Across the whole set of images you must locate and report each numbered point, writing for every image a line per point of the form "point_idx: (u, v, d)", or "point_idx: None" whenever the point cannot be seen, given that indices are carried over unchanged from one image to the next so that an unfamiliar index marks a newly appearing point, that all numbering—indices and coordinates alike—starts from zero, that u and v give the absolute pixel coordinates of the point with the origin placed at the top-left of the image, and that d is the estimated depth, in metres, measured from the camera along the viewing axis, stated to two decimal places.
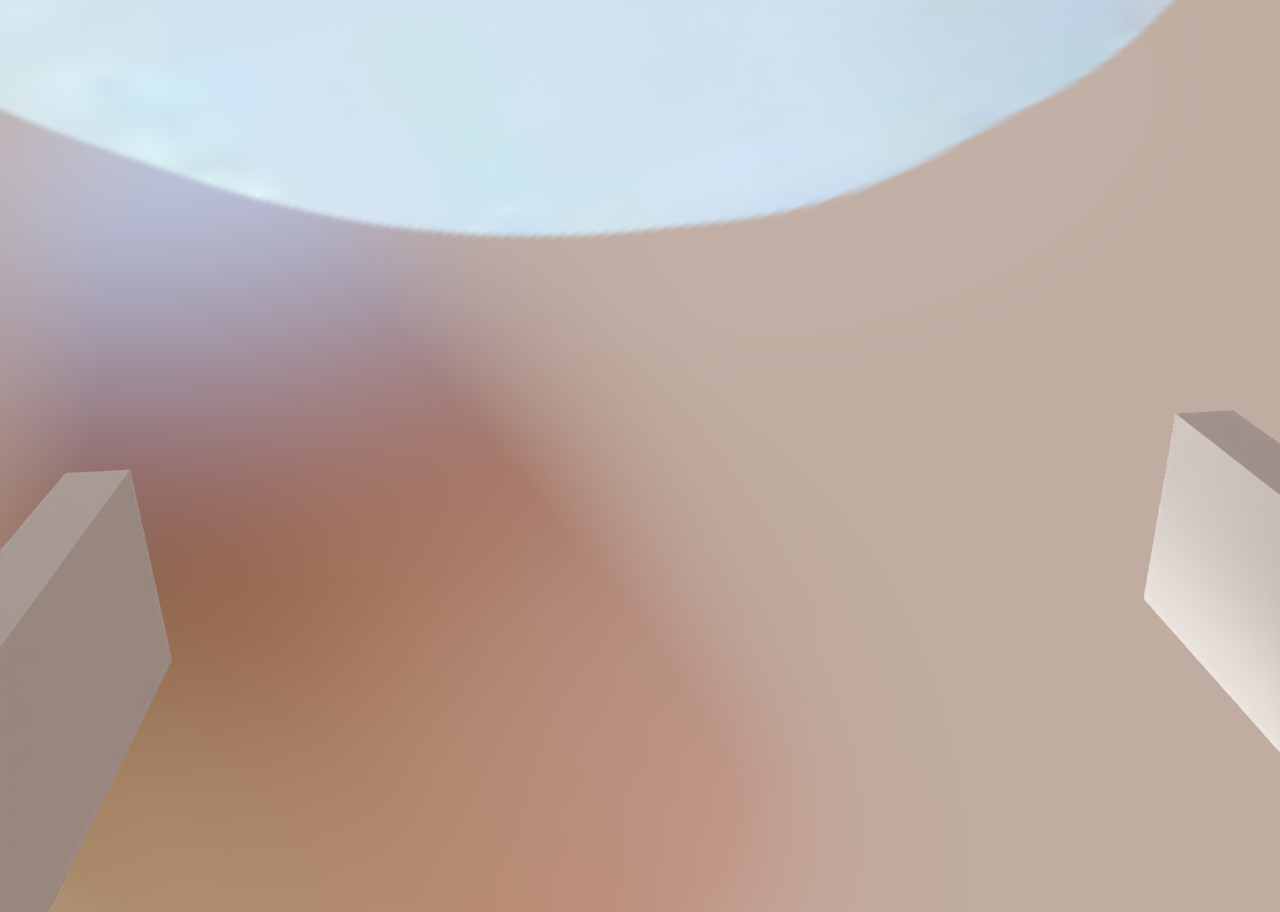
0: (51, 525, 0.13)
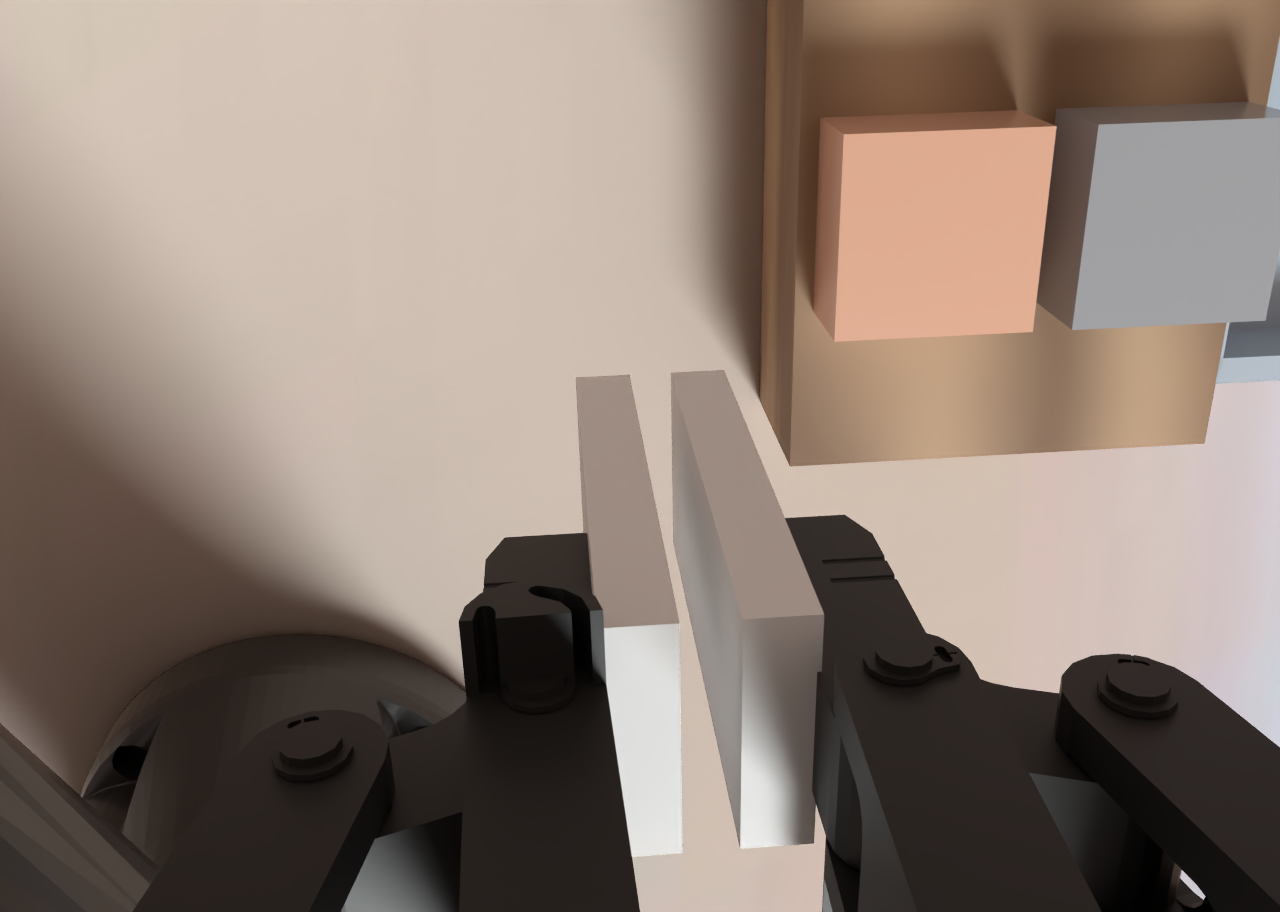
0: (604, 413, 0.16)
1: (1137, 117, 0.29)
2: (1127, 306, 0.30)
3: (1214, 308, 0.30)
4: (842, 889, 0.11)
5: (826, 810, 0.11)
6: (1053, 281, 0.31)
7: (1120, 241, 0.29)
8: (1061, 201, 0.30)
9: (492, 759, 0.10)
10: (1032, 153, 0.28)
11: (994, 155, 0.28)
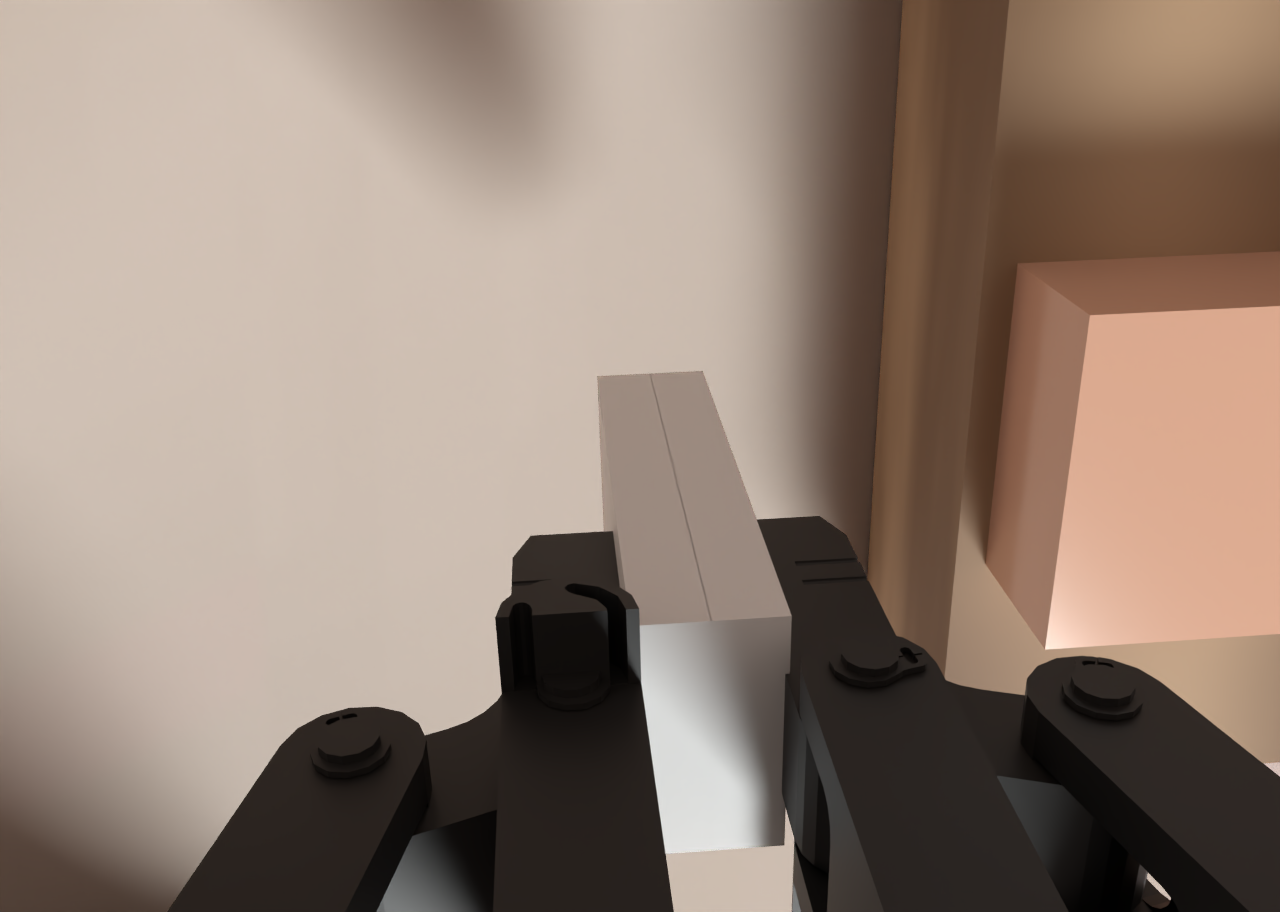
0: (626, 412, 0.16)
1: None
2: None
3: None
4: (811, 892, 0.11)
5: (794, 813, 0.11)
6: None
7: None
8: None
9: (527, 756, 0.10)
10: None
11: None
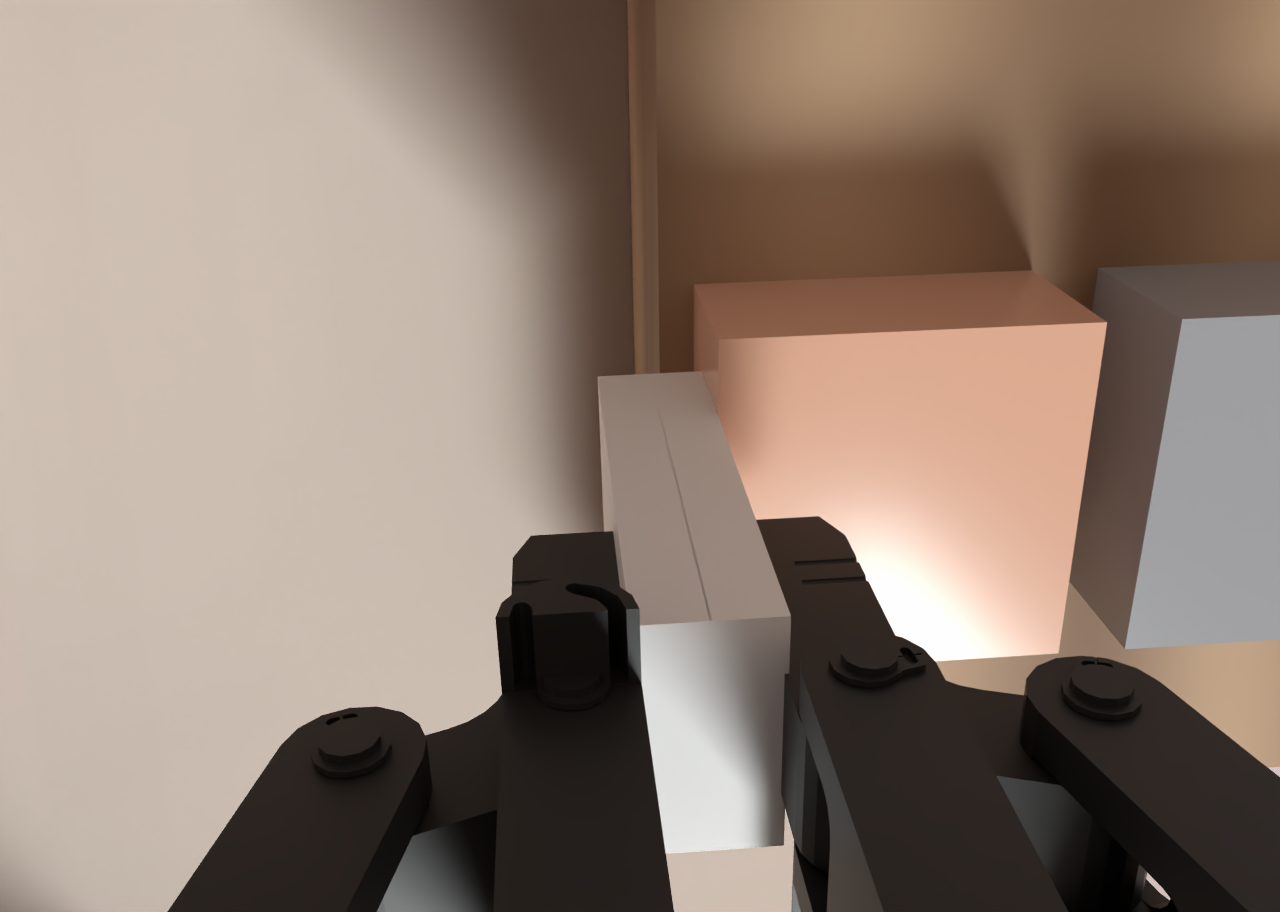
0: (627, 412, 0.16)
1: (1246, 297, 0.16)
2: (1220, 611, 0.17)
3: None
4: (810, 892, 0.11)
5: (793, 813, 0.11)
6: (1090, 551, 0.18)
7: (1212, 510, 0.17)
8: (1106, 426, 0.18)
9: (527, 756, 0.10)
10: (1062, 368, 0.16)
11: (993, 372, 0.15)
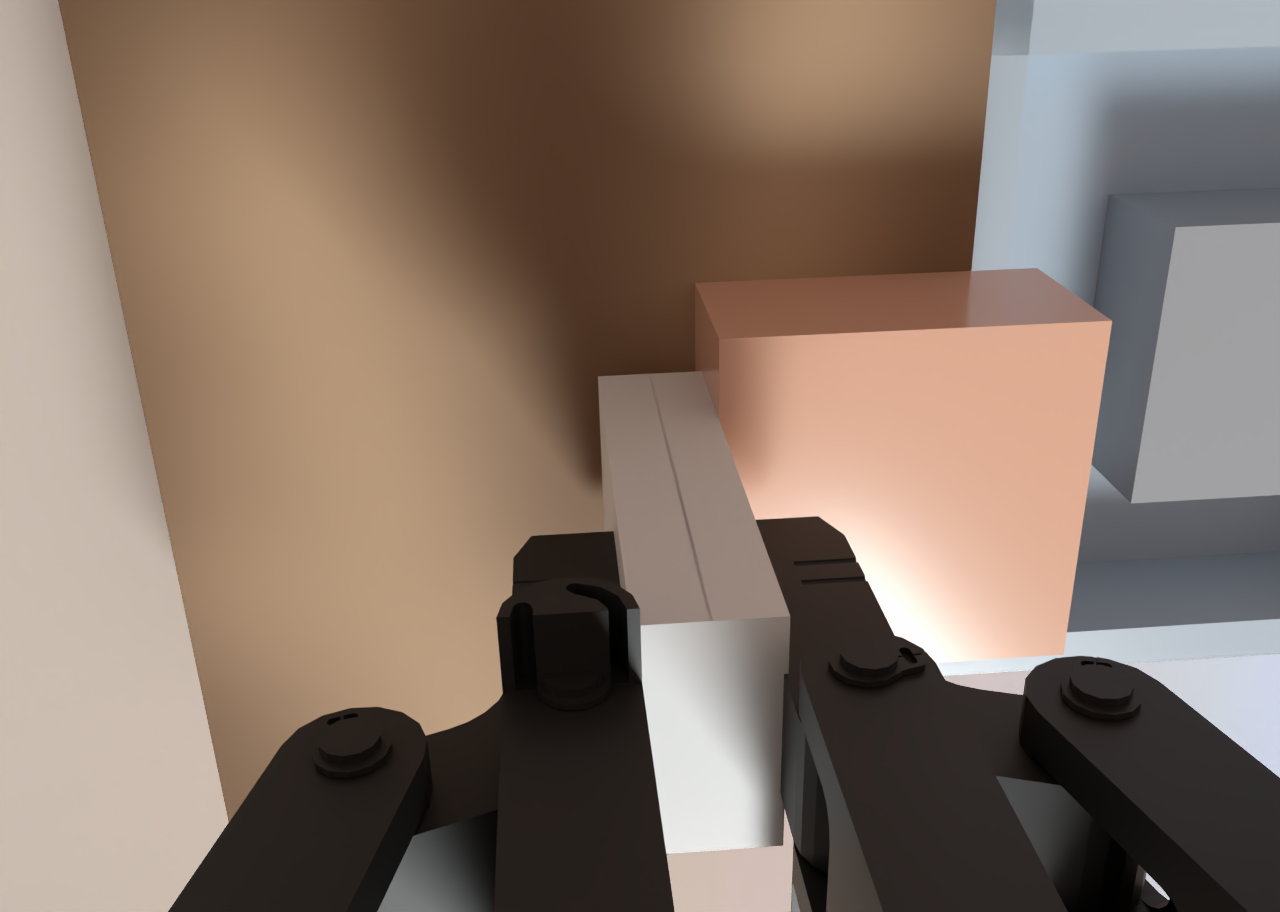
0: (628, 412, 0.16)
1: None
2: None
3: None
4: (810, 892, 0.11)
5: (793, 813, 0.11)
6: None
7: None
8: None
9: (528, 756, 0.10)
10: (1067, 367, 0.15)
11: (997, 372, 0.15)
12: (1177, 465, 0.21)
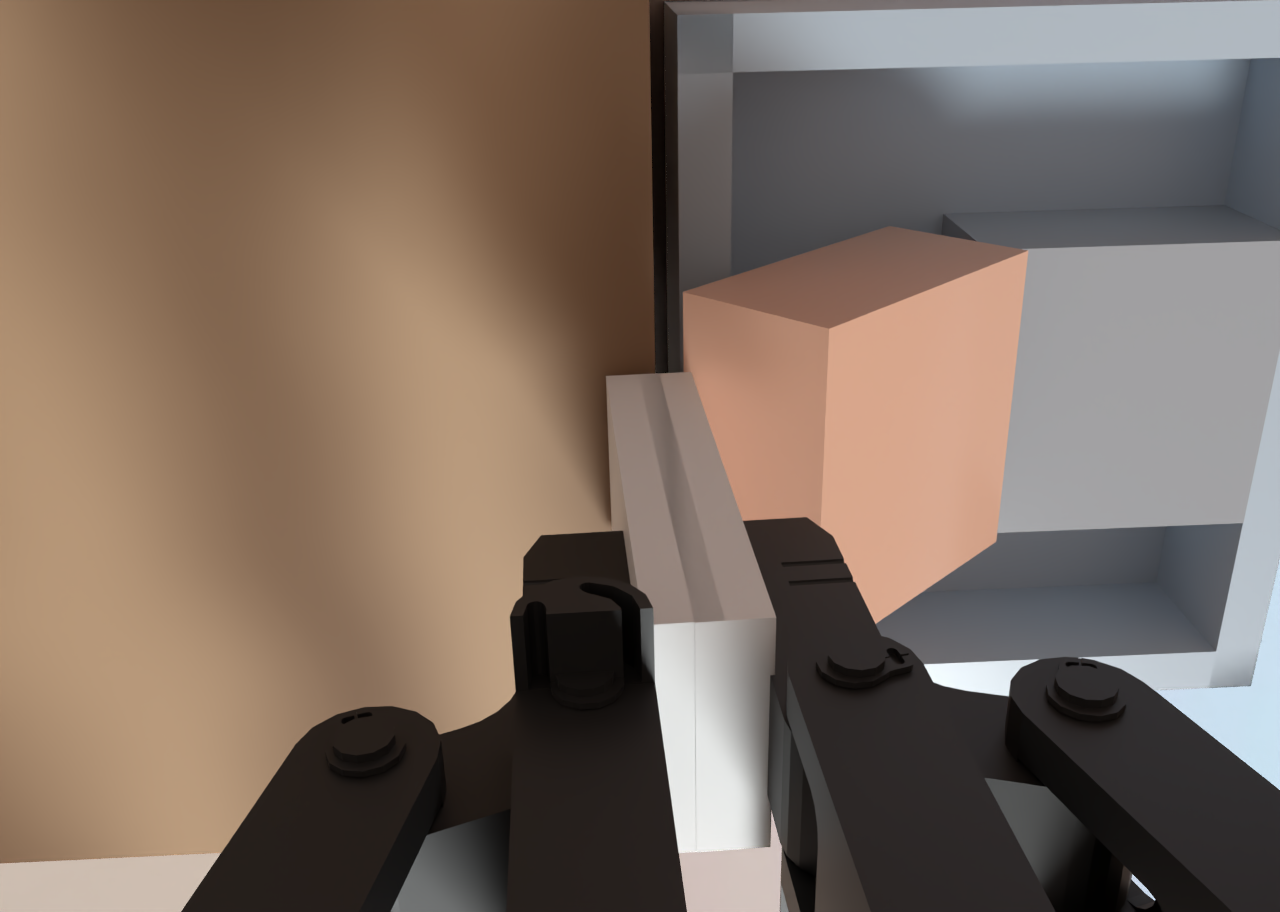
0: (636, 412, 0.16)
1: (1172, 217, 0.20)
2: None
3: None
4: (799, 894, 0.11)
5: (781, 815, 0.11)
6: None
7: None
8: None
9: (540, 754, 0.10)
10: (1007, 296, 0.18)
11: (975, 310, 0.18)
12: (1005, 495, 0.20)
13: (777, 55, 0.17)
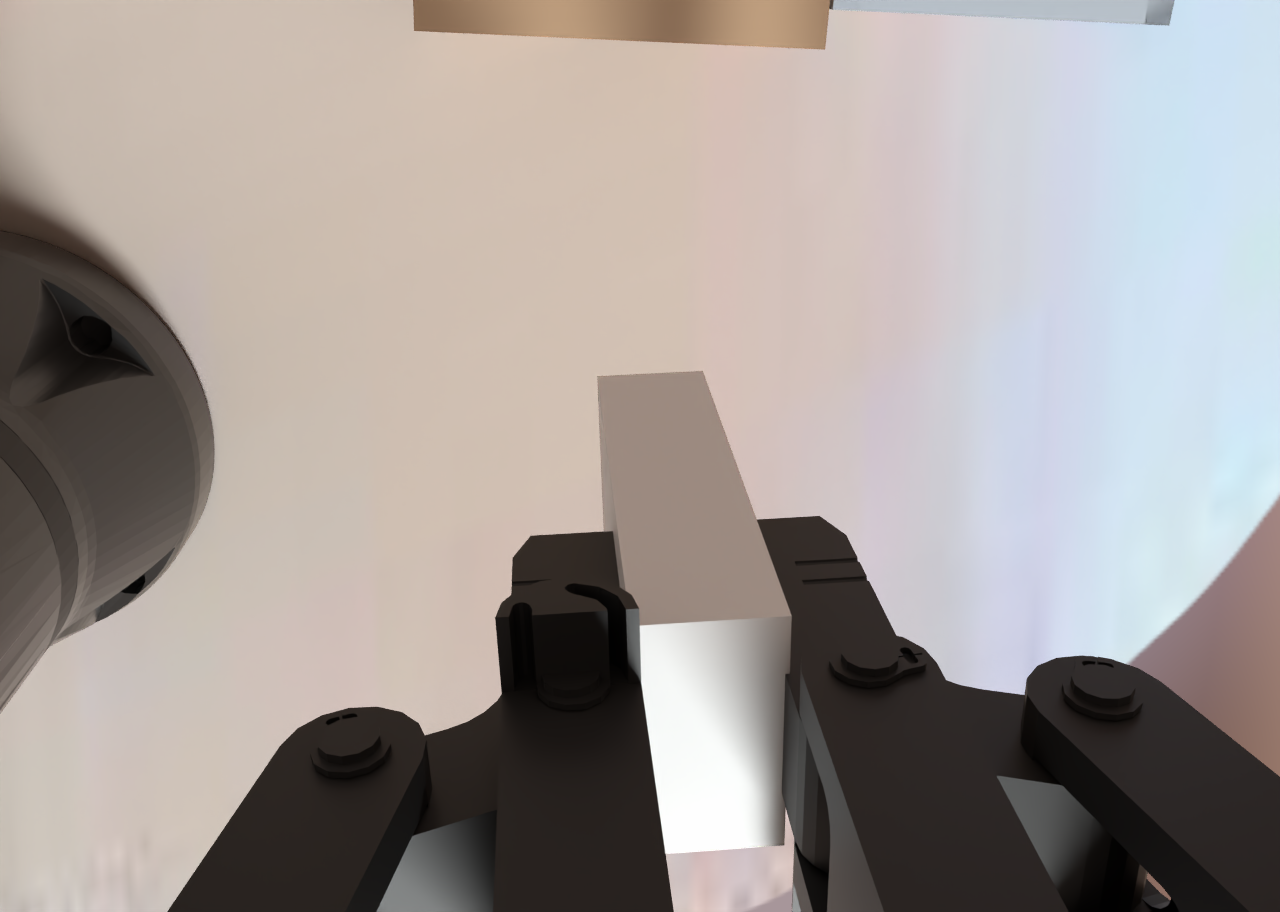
0: (627, 412, 0.16)
1: None
2: None
3: None
4: (811, 893, 0.11)
5: (794, 813, 0.11)
6: None
7: None
8: None
9: (527, 756, 0.10)
10: None
11: None
12: None
13: None
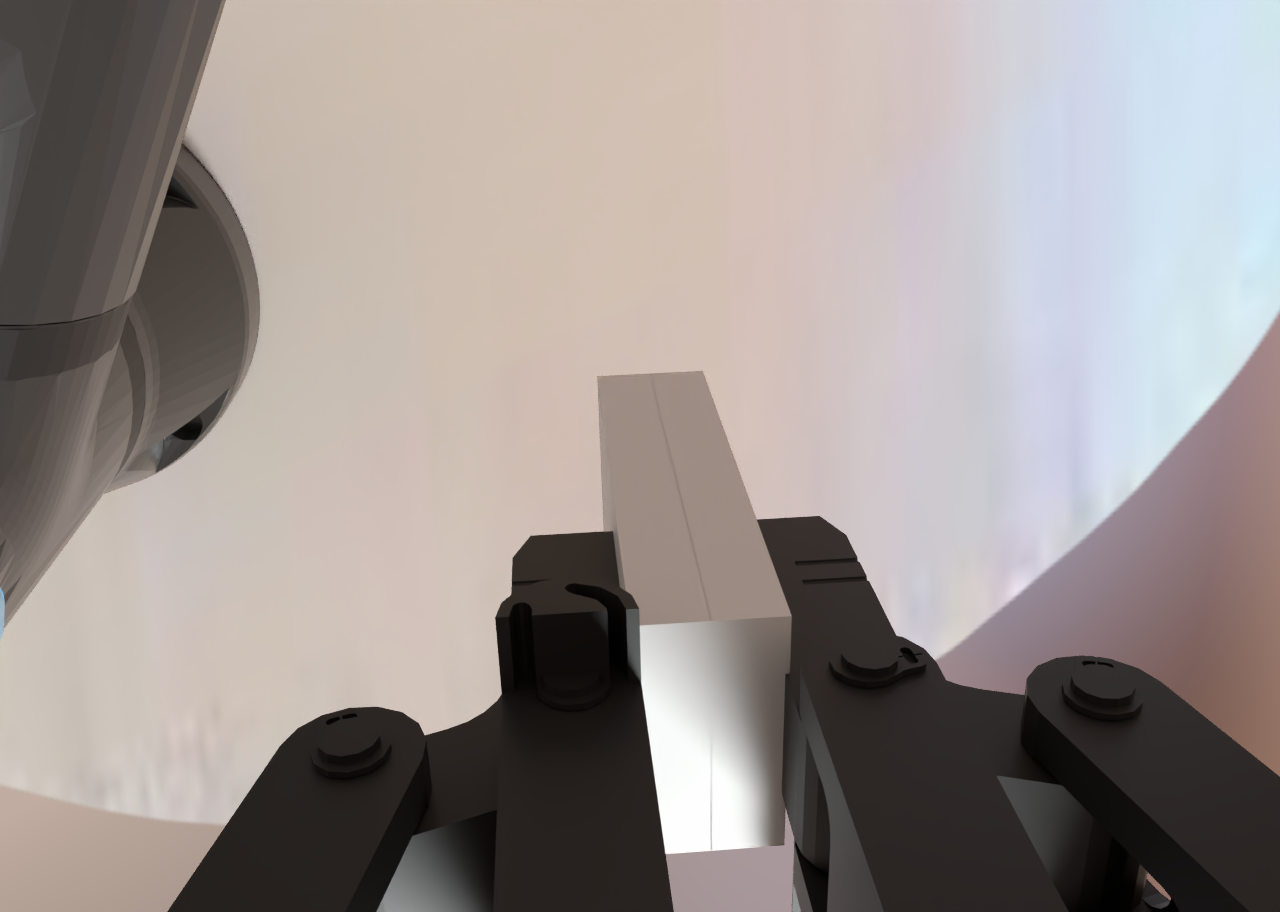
0: (627, 412, 0.16)
1: None
2: None
3: None
4: (811, 892, 0.11)
5: (794, 813, 0.11)
6: None
7: None
8: None
9: (527, 755, 0.10)
10: None
11: None
12: None
13: None
